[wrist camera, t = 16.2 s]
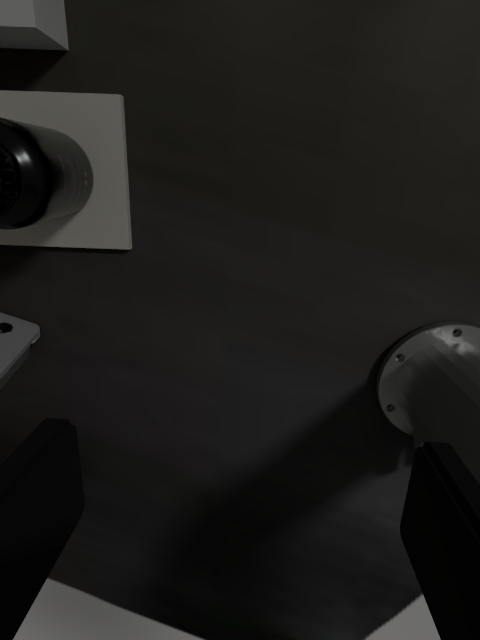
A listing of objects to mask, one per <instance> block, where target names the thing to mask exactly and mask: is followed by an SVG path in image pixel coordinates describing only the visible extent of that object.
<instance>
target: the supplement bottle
mask: <svg viewBox="0 0 480 640" xmlns="http://www.w3.org/2000/svg"><path fill="white" fill-rule="evenodd" d="M93 182H94V178H93V170H92V166H91V163H90V161H89V159H88V157H87V155H86V153H85V152H84V150H83V149H82V148H81V146H80V145H79V144H78V143H77V142H76V141H75V140H73V139H72V138H71V137H69V136H68V135H66V134H64V133H62V132H59V131H57V130H53V129H50V128H46V127H41V126H37V125H32V124H28V123H23V122H19V121H14V120H10V119H5V118H1V117H0V229H6V230H9V229H19V228H24V227H28V226H31V225H35V224H39V223H43V222H47V221H51V220H55V219H58V218H62V217H66V216H69V215H72V214H74V213H76V212H77V211H79V210H80V209H81V208H82V207H83V206H84V205H85V204H86V203H87V201H88V200H89V198H90V196H91V193H92V189H93Z"/></svg>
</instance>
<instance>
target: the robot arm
mask: <svg viewBox="0 0 480 640" xmlns="http://www.w3.org/2000/svg"><path fill="white" fill-rule="evenodd" d="M398 354H399V355H398ZM397 355H398V356H397ZM376 392H377V398H378V401H379V404H380V406H381V409H382V410H383V412H384V413H385V415H386V417H387V418H388V419H389V420H390V422H391V423H392V424H393V425H394V426H396V427H397V428H398V429H400V430H401V431H403V432H405V433H407V434H409V435H412V436H413V438H414V443H413V445H414V448H415V449H416V451H415V455H414V459H413V463H412V468H411V475H410V480H409V485H408V490H407V495H406V499H405V504H404V509H403V514H402V519H401V524H400V533H401V538H402V541H403V544H404V546H405V549H406V551H407V554H408V556H409V559H410V562H411V564H412V567H413V569H414V572H415V574H416V577H417V580H418V582H419V585H420V587H421V590H422V592H423V595H424V597H425V600H426V603H427V605H428V608H429V610H430V613H431V615H432V618H433V621H434V623H435V626H436V628H437V631H438V633H439V636H440V638H441V640H480V328H479V327H477V326H474V325H471V324H467V323H463V322H440V323H435V324H431V325H428V326H424V327H422V328H420V329H418V330H415V331H413V332H412V333H410V334H409V335H407V336H406V337H404V338H403V339H401V340H400V341H399V342H398V343H397V344H396V345H395V346H394V347H393V348H392V349H391V350H390V352H389V353H388V354H387V356H386V357H385V359H384V361H383V363H382V364H381V366H380V369H379V372H378V376H377V383H376ZM84 504H85V502H84V493H83V484H82V476H81V467H80V459H79V450H78V442H77V433H76V427H75V426H74V425H70V422H69V420H67V419H54V418H46V419H45V420H43V421H42V422H41V423H40V424H39V425H38V426H37V428H36V429H35V430H34V431H33V432H32V433H31V434H30V435H29V436H28V437H27V438H26V439H25V440H24V441H23V442H22V443H21V444H20V445H19V446H18V448H17V449H16V450H15V451H14V452H13V453H12V454H11V455H10V456H9V457H8V458H7V459H6V460H5V461H4V462H3V463H2V464H1V465H0V640H13V638H14V636H15V635H16V633H17V631H18V629H19V627H20V626H21V624H22V622H23V620H24V618H25V617H26V615H27V613H28V611H29V610H30V608H31V606H32V604H33V602H34V601H35V599H36V597H37V595H38V593H39V592H40V590H41V588H42V586H43V584H44V583H45V581H46V579H47V577H48V575H49V574H50V572H51V570H52V568H53V566H54V565H55V563H56V561H57V559H58V557H59V556H60V554H61V552H62V550H63V548H64V547H65V545H66V543H67V541H68V539H69V538H70V536H71V534H72V532H73V530H74V529H75V527H76V525H77V523H78V521H79V520H80V518H81V516H82V513H83V510H84Z"/></svg>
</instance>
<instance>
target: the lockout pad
mask: <svg viewBox="0 0 480 640" xmlns="http://www.w3.org/2000/svg"><path fill="white" fill-rule="evenodd" d="M0 117H1V118H5V119H10V120H14V121H19V122H23V123H28V124H32V125H37V126H41V127H46V128H50V129H53V130H57V131H59V132H62V133H64V134H66V135H68V136H69V137H71V138H72V139H73V140H75V141H76V142H77V143H78V144H79V145H80V146H81V148H82V149H83V150H84V152H85V153H86V155H87V157H88V159H89V161H90V163H91V166H92V170H93V178H94V182H93V189H92V193H91V196H90V198H89V200H88V201H87V203H86V204H85V205H84V206H83V207H82V208H81V209H80V210H79V211H77V212H76V213H74V214H72V215H69V216H66V217H62V218H58V219H55V220H51V221H47V222H43V223H39V224H35V225H31V226H28V227H24V228H19V229H9V230H6V229H0V245H21V246H48V247H74V248H101V249H127V250H130V249H131V248H132V236H131V219H130V202H129V185H128V168H127V151H126V134H125V117H124V100H123V96H122V95H116V94H89V93H61V92H34V91H6V90H0Z"/></svg>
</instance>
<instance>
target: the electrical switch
mask: <svg viewBox="0 0 480 640" xmlns="http://www.w3.org/2000/svg"><path fill="white" fill-rule="evenodd" d="M39 337H40V328H39V326H38V325H37V324H35V323H32V322H29V321H25V320H22V319H19V318H16V317H13V316H10V315H7V314H4V313H1V312H0V390H1V389H2V388H3V387H4V385H5V384H6V383H7V382H8V381H9V379H10V378H11V377H12V376H13V375H14V373H15V372H16V371H17V370H18V369H19V367H20V366H21V365H22V364H23V363H24V361H25V360H26V359H27V358H28V357H29V349H30V344H31V343H34V342H35V341H36V340H37V339H38V338H39ZM12 365H13V366H12Z"/></svg>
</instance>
